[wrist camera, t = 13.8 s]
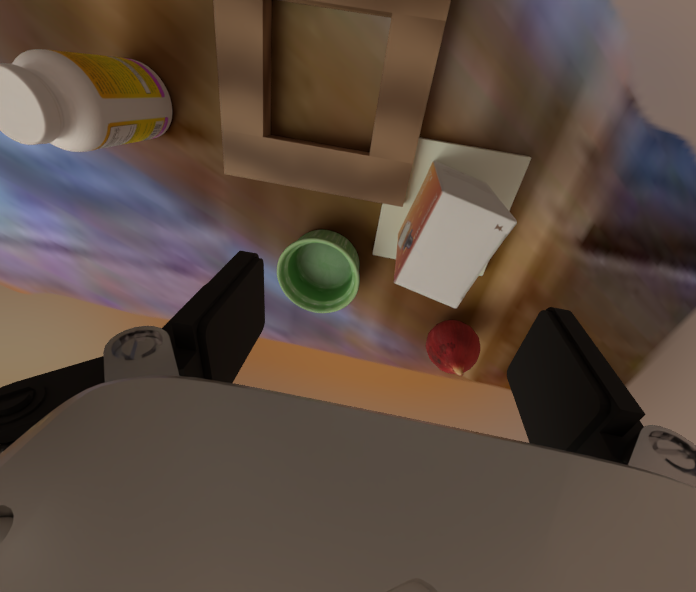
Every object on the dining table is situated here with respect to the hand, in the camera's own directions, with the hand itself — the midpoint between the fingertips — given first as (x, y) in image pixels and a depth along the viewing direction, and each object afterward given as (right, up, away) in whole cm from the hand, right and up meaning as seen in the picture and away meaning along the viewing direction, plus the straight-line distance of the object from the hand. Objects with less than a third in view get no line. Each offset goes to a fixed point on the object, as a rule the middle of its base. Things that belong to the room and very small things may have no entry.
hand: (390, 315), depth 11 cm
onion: (+11, -3, +29) cm, 31 cm away
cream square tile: (+8, +9, +22) cm, 25 cm away
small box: (+8, +9, +21) cm, 24 cm away
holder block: (-3, +20, +18) cm, 27 cm away
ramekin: (-4, +5, +27) cm, 28 cm away
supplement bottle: (-22, +20, +21) cm, 36 cm away
